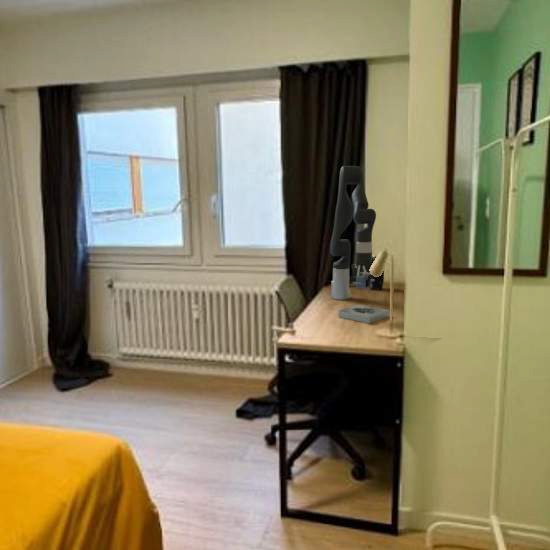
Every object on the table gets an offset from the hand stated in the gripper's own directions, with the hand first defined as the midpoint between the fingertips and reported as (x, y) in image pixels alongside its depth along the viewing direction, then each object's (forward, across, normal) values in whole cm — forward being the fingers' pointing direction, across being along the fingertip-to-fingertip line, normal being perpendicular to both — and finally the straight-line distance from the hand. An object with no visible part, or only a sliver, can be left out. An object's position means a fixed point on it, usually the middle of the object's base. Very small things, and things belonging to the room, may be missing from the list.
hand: (363, 286), depth 241 cm
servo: (+1, 0, 0) cm, 1 cm away
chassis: (+15, 0, 0) cm, 15 cm away
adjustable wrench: (+16, +44, -56) cm, 73 cm away
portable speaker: (+15, +30, -56) cm, 65 cm away
